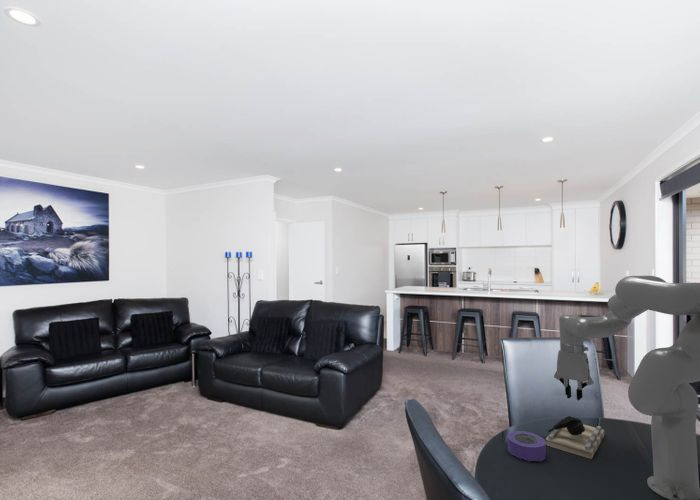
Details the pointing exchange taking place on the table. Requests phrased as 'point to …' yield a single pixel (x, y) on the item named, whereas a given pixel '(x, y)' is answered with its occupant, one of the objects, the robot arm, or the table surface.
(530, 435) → the tape roll
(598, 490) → the table surface
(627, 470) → the table surface
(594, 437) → the board
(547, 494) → the table surface
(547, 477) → the table surface
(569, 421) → the black tapered curved piece
